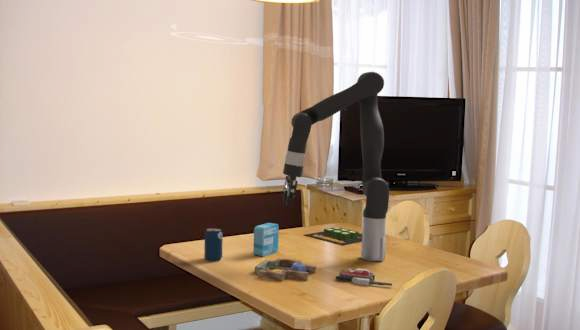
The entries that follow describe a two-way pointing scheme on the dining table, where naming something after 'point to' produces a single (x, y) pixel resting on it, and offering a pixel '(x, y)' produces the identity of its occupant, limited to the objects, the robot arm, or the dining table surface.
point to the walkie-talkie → (359, 277)
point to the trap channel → (286, 273)
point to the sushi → (338, 236)
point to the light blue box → (266, 239)
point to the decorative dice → (298, 267)
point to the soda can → (213, 244)
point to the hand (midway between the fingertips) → (287, 204)
